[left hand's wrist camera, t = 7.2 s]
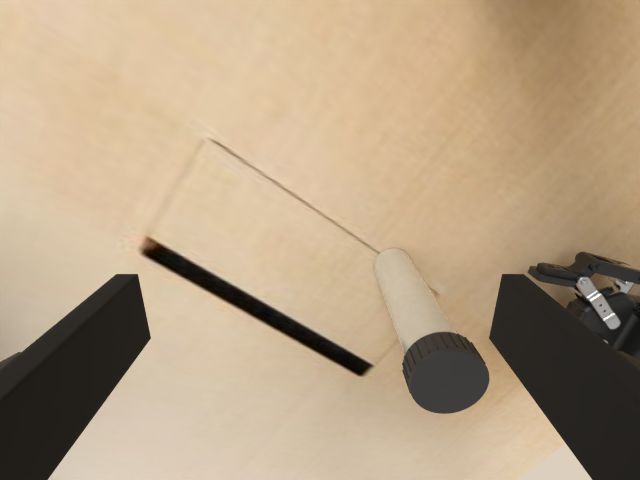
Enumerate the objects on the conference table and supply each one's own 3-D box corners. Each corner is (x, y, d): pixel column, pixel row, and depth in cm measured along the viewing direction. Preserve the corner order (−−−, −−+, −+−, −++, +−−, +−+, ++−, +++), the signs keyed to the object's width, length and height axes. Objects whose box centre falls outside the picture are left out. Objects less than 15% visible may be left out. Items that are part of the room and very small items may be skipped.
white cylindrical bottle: (410, 245, 40) (481, 349, 23) (411, 279, 42) (478, 400, 25) (372, 249, 41) (414, 356, 23) (374, 283, 42) (415, 406, 25)
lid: (478, 326, 25) (492, 346, 22) (475, 387, 26) (488, 410, 24) (400, 334, 25) (408, 354, 23) (402, 394, 27) (410, 418, 25)
